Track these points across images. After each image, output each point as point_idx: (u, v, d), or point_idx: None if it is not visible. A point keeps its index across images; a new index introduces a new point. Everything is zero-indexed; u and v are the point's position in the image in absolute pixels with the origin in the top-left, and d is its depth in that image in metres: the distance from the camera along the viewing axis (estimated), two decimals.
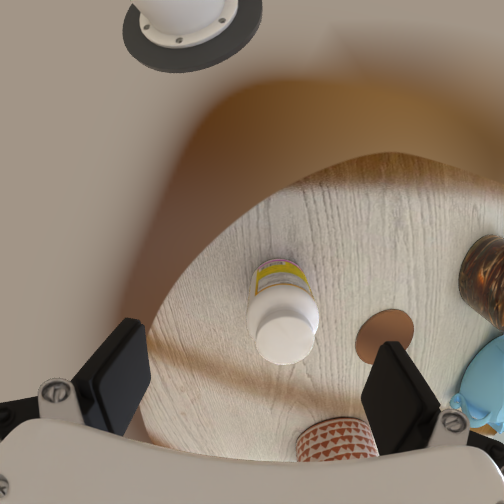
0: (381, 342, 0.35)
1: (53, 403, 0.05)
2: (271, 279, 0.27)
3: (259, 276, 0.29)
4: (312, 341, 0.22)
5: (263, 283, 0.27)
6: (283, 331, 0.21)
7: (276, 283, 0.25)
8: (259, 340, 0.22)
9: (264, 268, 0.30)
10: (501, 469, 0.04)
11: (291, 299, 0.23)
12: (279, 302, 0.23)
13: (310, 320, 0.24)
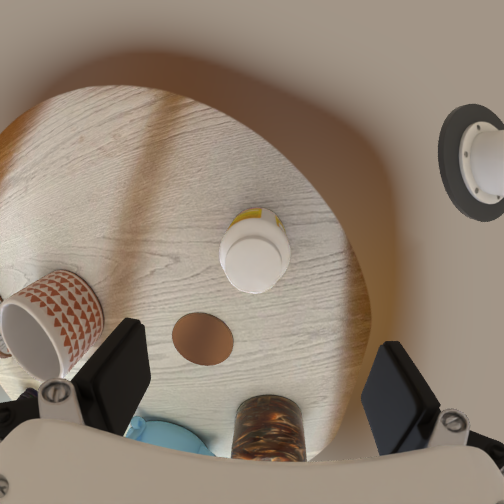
0: (198, 337, 0.39)
1: (53, 403, 0.05)
2: None
3: (278, 221, 0.30)
4: (254, 292, 0.24)
5: (283, 230, 0.28)
6: (266, 264, 0.23)
7: None
8: (254, 242, 0.22)
9: (281, 223, 0.32)
10: (501, 469, 0.04)
11: (283, 263, 0.25)
12: (281, 252, 0.25)
13: None
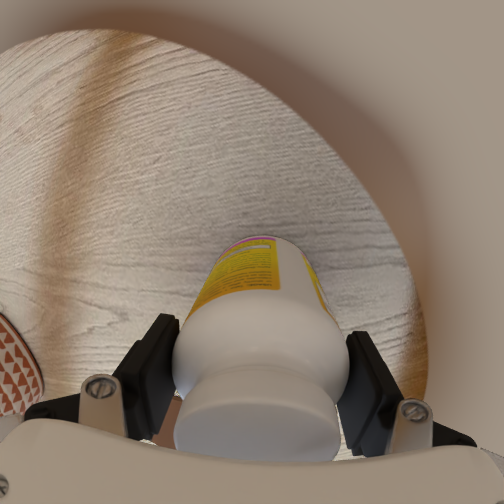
0: (167, 423, 0.23)
1: (96, 399, 0.06)
2: None
3: (313, 274, 0.14)
4: None
5: None
6: (296, 450, 0.06)
7: None
8: (264, 409, 0.06)
9: (315, 275, 0.15)
10: None
11: None
12: (331, 385, 0.08)
13: None
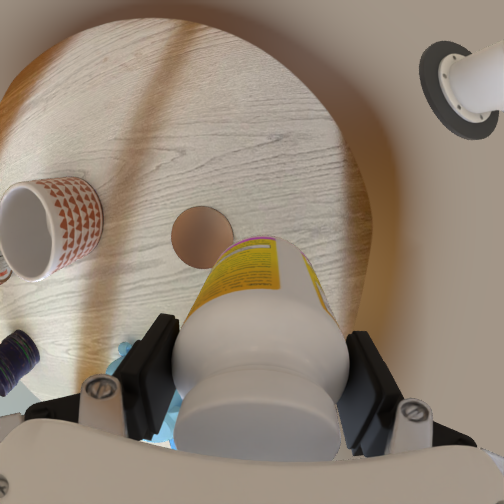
0: (198, 234, 0.40)
1: (96, 399, 0.06)
2: None
3: (313, 274, 0.14)
4: None
5: None
6: (296, 450, 0.06)
7: None
8: (264, 409, 0.06)
9: None
10: None
11: None
12: (331, 385, 0.08)
13: None
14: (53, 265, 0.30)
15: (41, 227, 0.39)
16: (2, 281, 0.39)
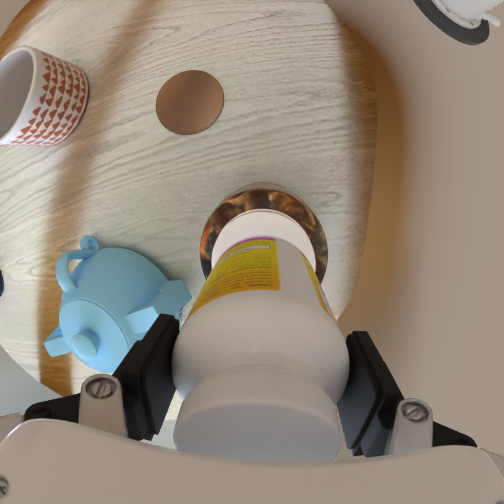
0: (185, 96, 0.32)
1: (96, 399, 0.06)
2: None
3: (313, 275, 0.14)
4: None
5: (330, 308, 0.11)
6: (296, 451, 0.06)
7: None
8: (264, 410, 0.06)
9: None
10: None
11: None
12: (331, 386, 0.08)
13: None
14: (25, 115, 0.22)
15: None
16: None
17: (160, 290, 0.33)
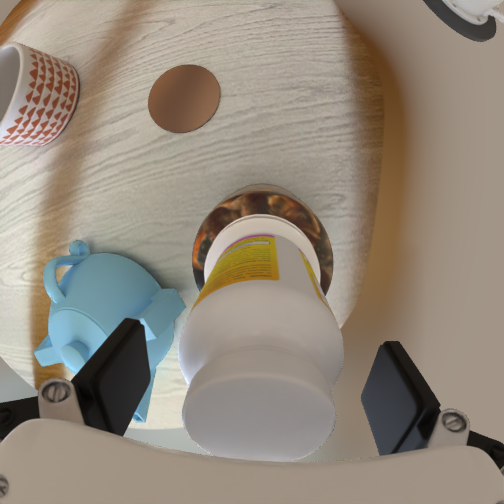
0: (179, 92, 0.29)
1: (53, 403, 0.05)
2: None
3: (310, 269, 0.15)
4: None
5: (325, 298, 0.12)
6: (295, 426, 0.07)
7: None
8: (265, 384, 0.07)
9: (312, 270, 0.16)
10: (501, 469, 0.04)
11: None
12: (327, 368, 0.09)
13: None
14: (11, 114, 0.19)
15: None
16: None
17: (152, 299, 0.31)
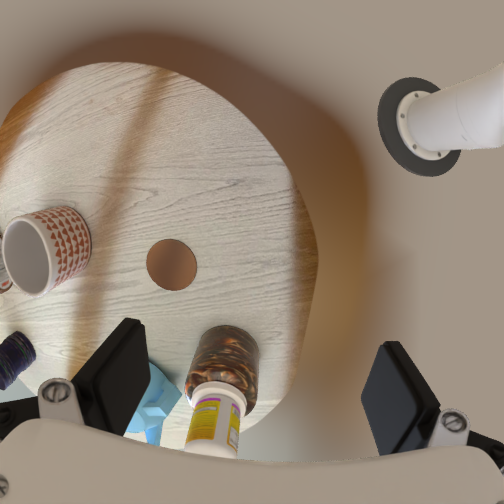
0: (167, 262, 0.47)
1: (53, 403, 0.05)
2: (236, 440, 0.30)
3: (232, 420, 0.32)
4: None
5: (233, 438, 0.30)
6: None
7: (236, 450, 0.29)
8: None
9: (236, 416, 0.34)
10: (501, 469, 0.04)
11: None
12: None
13: None
14: (50, 285, 0.36)
15: (39, 247, 0.45)
16: (4, 290, 0.45)
17: (162, 388, 0.48)
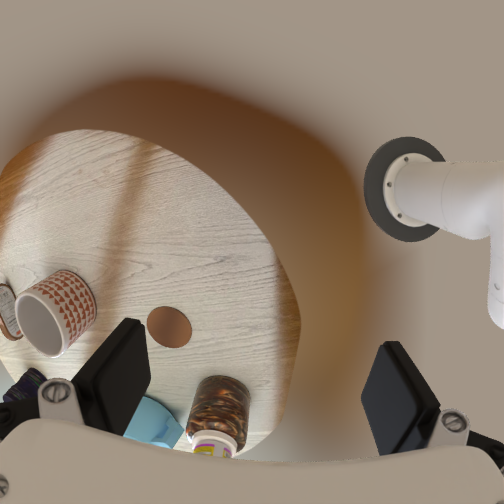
0: (165, 325, 0.51)
1: (53, 403, 0.05)
2: None
3: None
4: None
5: None
6: None
7: None
8: None
9: None
10: (501, 469, 0.04)
11: None
12: None
13: None
14: (64, 350, 0.41)
15: None
16: (19, 338, 0.50)
17: (167, 425, 0.52)
